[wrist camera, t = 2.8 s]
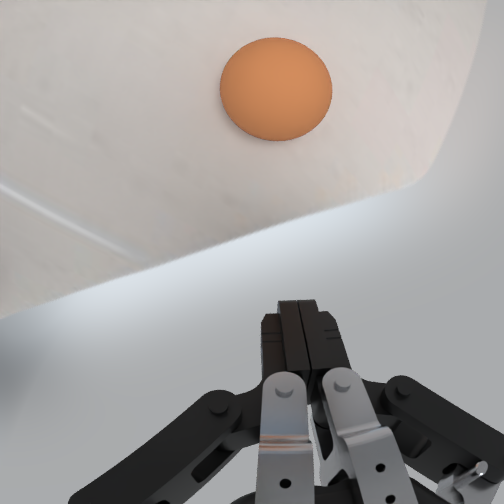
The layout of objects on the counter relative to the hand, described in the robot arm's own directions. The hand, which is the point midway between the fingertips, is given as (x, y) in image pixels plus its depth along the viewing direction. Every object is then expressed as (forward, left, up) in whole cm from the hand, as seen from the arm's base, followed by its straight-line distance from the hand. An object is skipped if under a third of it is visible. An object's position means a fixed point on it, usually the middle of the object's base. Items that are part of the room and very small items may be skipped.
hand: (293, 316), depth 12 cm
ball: (+8, +5, -7) cm, 12 cm away
